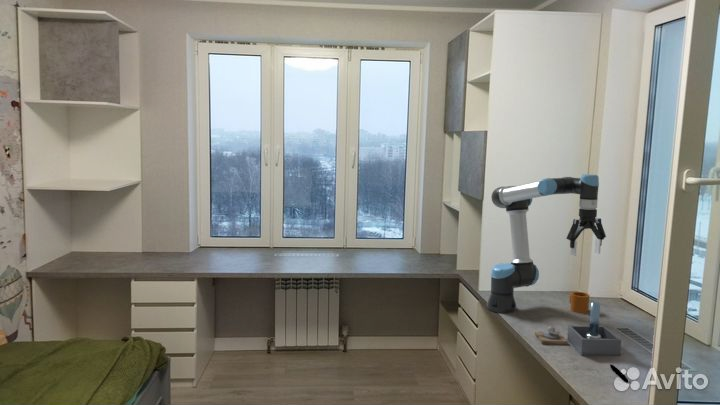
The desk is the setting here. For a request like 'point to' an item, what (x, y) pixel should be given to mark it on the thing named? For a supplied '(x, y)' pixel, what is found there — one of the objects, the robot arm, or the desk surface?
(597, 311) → the strut
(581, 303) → the mug
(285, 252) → the desk surface
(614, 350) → the bin
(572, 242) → the robot arm
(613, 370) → the pen
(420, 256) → the desk surface
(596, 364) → the desk surface
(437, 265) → the desk surface
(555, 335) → the stud base
